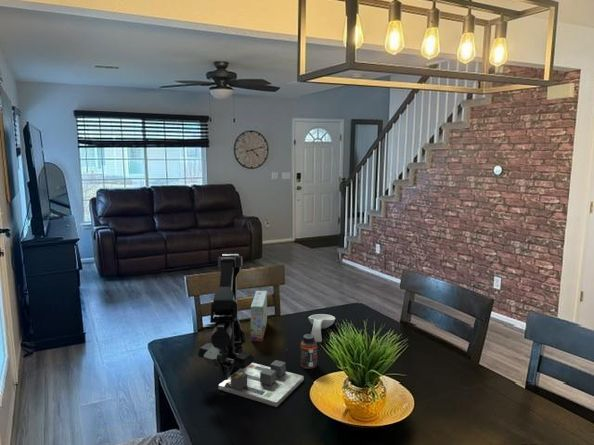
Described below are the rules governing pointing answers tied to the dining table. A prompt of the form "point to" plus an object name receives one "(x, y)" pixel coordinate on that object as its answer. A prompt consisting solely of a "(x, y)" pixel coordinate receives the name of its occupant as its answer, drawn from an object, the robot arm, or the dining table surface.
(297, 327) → the dining table surface
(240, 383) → the grey cube
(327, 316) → the spoon rest
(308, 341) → the supplement bottle
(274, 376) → the block
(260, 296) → the snack box
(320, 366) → the dining table surface
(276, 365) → the block
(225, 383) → the panel
